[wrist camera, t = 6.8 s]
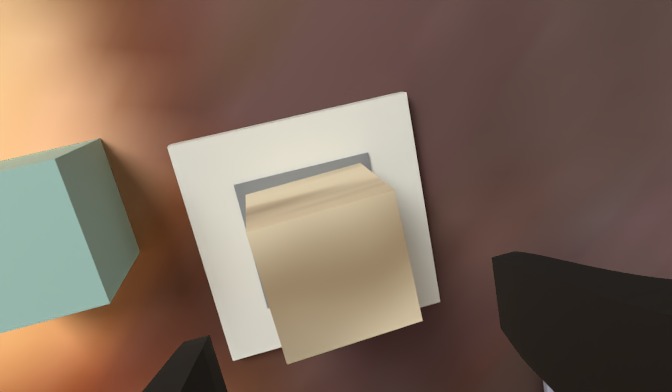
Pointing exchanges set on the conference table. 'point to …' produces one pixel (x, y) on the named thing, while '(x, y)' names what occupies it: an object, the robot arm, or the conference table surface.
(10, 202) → the teal cube
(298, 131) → the white flat square plate
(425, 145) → the conference table surface
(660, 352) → the robot arm
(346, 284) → the maple cube
